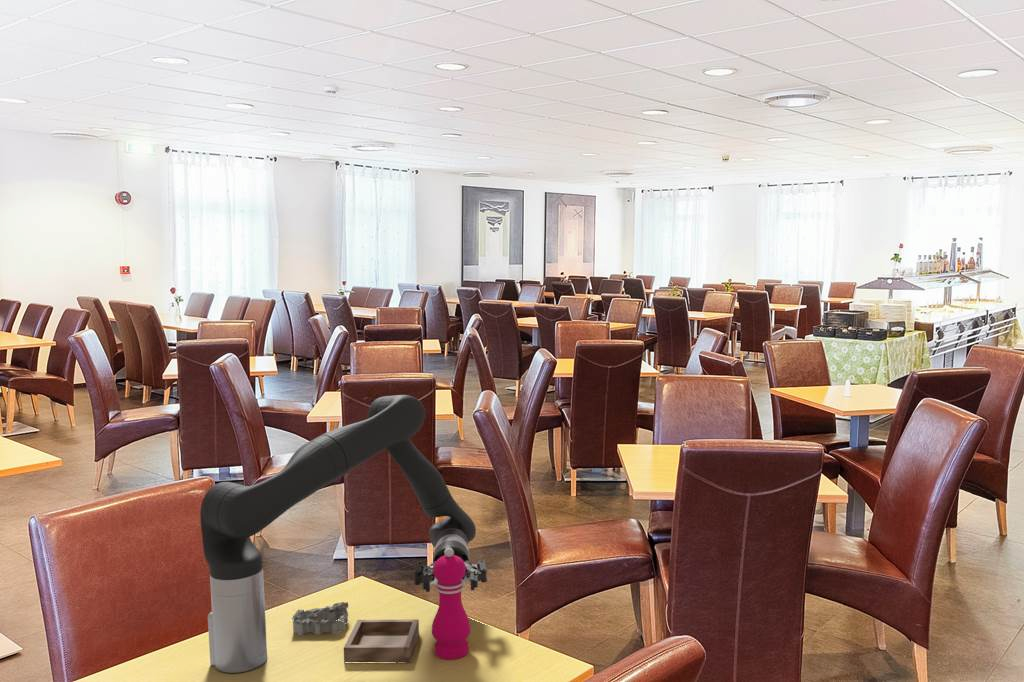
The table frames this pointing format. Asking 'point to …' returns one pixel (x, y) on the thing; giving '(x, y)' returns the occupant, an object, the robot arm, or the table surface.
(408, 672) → the table surface
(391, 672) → the table surface
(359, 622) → the tray
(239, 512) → the robot arm
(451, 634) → the pepper mill
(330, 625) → the egg carton
